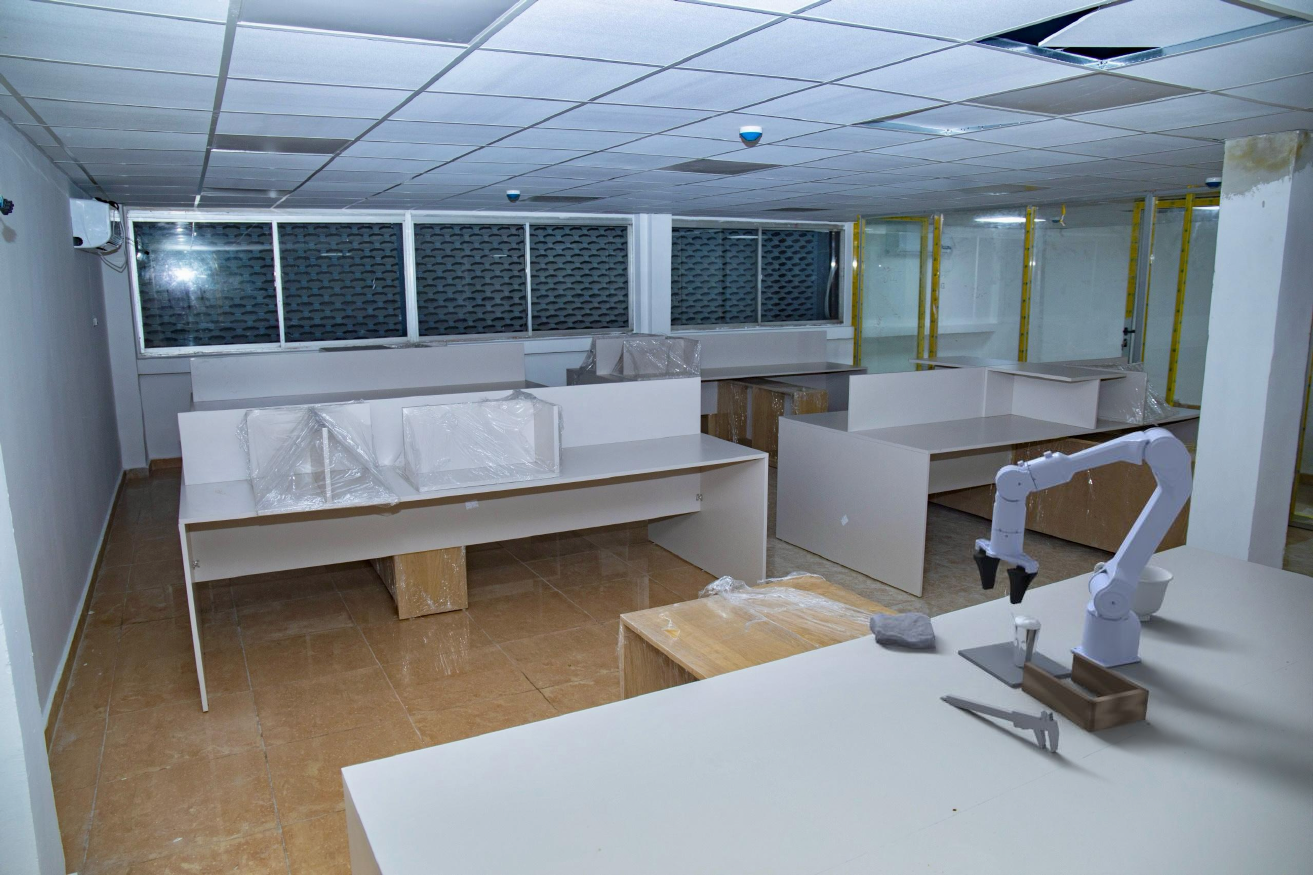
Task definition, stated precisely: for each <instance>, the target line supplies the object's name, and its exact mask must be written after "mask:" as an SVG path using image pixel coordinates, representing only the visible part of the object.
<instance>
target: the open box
mask: <svg viewBox="0 0 1313 875" xmlns="http://www.w3.org/2000/svg"><path fill="white" fill-rule="evenodd" d="M1071 671H1072V672H1071V676H1070V681H1072V682H1073V683H1075V684H1076V685H1078V686H1080V687H1082V688H1084V689H1086V690H1087V691H1089V692H1091V693H1093V694H1095V695H1097V696H1098V697H1095V698H1091V697H1090V696H1088V695H1086V694H1084V693H1083V692H1081V691H1079V690H1077V689H1076V688H1074V687H1073V686H1071V685H1069V684H1068V683H1065V682H1063V681H1062V680H1060V678H1055V677H1053V676H1052V675H1050V674H1048V673H1047V672H1045V671H1043V670H1041V669H1040V668H1038V667H1036V666H1034V665H1033V664H1031V663H1029V662H1027V663H1024V669H1023V678H1022V685H1021V689H1020V690H1021V691H1023V692H1024V693H1025V694H1028V695H1029V696H1031V697H1032V698H1034V700H1035V699H1036V700H1037V701H1039V702H1040V703H1042V704H1043V705H1045V706H1047V707H1048V708H1049V709H1051V710H1053V711H1054V712H1056V713H1058V714H1059V715H1061V716H1062V717H1063V718H1066V719H1067V720H1069V721H1070V722H1072V723H1074V724H1075V725H1077V726H1078V727H1080V728H1082V729H1083V730H1085V731H1086V732H1088V733H1091V732H1095V731H1099V730H1104V729H1109V728H1111V727H1116V726H1120V725H1125V724H1129V723H1135V722H1139V721H1143V720H1146V718H1147V710H1148V705H1149V704H1148V703H1149V697H1150V690H1149V689H1147V688H1145V687H1143V686H1141V685H1139V684H1137V683H1135V682H1134V681H1132V680H1130V679H1128V678H1127V677H1124V676H1123V675H1121V674H1119V673H1117V672H1114V671H1113V670H1111V669H1109V668H1108V667H1107V668H1105V667H1103V666H1102V665H1100V664H1098V663H1096V662H1094V661H1092V660H1090V659H1088V658H1086V657H1084V656H1083V655H1081V654H1079V653H1073V657H1072V665H1071Z"/></svg>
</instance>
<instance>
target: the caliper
mask: <svg viewBox="0 0 1313 875" xmlns="http://www.w3.org/2000/svg"><path fill="white" fill-rule="evenodd" d="M939 699H940V700H942V701H946V703H948V704H950V705H953V706H954V707H958V708H961V709H965V710H969V711H972V712H976V713H980V714H983V715H986V716H990V717H994V718H997V719H1001V720H1004V721H1008V722H1012V723H1013V728H1016V729H1021V730H1024V731H1025V730H1026V731H1027V730H1033V733H1034V736H1035V739H1036V741H1037V744H1038V747H1039V748H1041V749H1045V748H1046V747H1047V739H1046V733H1045V732H1047V736H1048V743H1049V749H1050V753H1052V754H1053V753H1054V752H1056V751H1058V750H1059V749H1058V748H1059V739H1060V730H1059V729H1060V728H1059V723H1058V720H1057V719H1054V714H1053V711H1051V712H1049V713H1047V711H1046V709H1044V710H1042V711H1040V714H1036V713H1034V712H1028V711H1026V710H1022V709H1021V710H1020V709H1018V708H1015V709H1013V710H1012V709H1008V708H1004V707H1000V706H997V705H993V704H990V703H985V702H982V701H979V700H975V699H970V698H967V697H964V696H960V695H955V694H952V693H949V694H946V695H943V696H942V695H941V696H940V697H939Z"/></svg>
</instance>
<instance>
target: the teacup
mask: <svg viewBox="0 0 1313 875" xmlns="http://www.w3.org/2000/svg"><path fill="white" fill-rule="evenodd" d="M1106 563H1107V562H1104V561H1101V562H1098V563H1097V564H1095V565H1094V569H1093V575H1094V574H1095V573H1097V572H1099V571H1100V568H1103V567H1104V566H1105V564H1106ZM1173 579H1174V575H1173V574H1172V573H1171V572H1170V571H1168V570H1166V569H1164V568H1161V567H1160V566H1156V565H1154V564H1153V565H1152V564H1150V563H1149V564H1148V563H1147V564H1146V566H1145V568H1144V569H1143V571H1142V572H1141V574H1140V577H1139V582H1138V587H1137V590H1136V592H1135V593H1134V595H1133V598H1132V608H1131V611H1132V612H1134V613H1135V614H1136V615H1137V617H1138V618H1139V621H1140V622H1147V621H1149V620H1150V619H1151V615H1153V614H1156V613H1158V611H1160V610H1161V607H1162V605H1163V602H1164V598H1165V595H1166V592H1167V588H1168V585H1169V583H1170V582H1171V581H1172V580H1173Z"/></svg>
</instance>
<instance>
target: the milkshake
mask: <svg viewBox="0 0 1313 875" xmlns="http://www.w3.org/2000/svg"><path fill="white" fill-rule="evenodd" d="M1011 617H1012V619H1013V641H1014V650H1013V663H1014V665H1016V666H1018V667H1021V668H1024V663H1027V662H1029V663H1031V664H1033V661H1034V656H1035V651H1037V646H1038V640H1039V635H1040V631H1041V627H1042V623H1041V622H1040V621H1039V620H1038V619H1037V618H1035V617H1033V616H1032V615H1025V614H1020V615H1019V616H1017V617H1014V614H1013V613H1012V612H1011Z"/></svg>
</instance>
